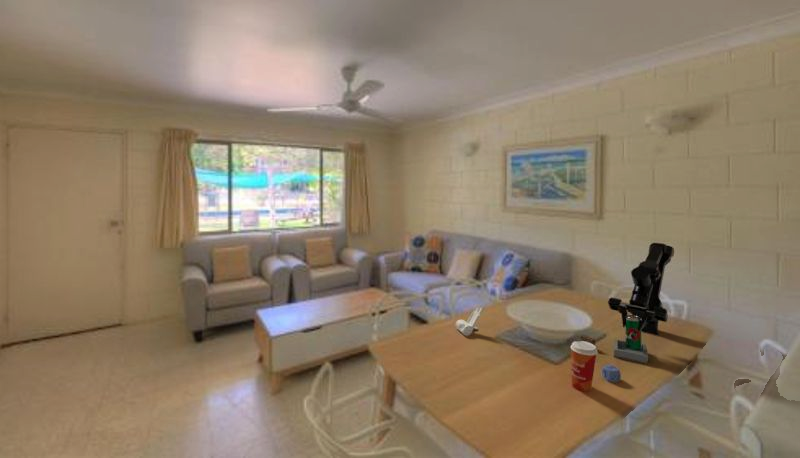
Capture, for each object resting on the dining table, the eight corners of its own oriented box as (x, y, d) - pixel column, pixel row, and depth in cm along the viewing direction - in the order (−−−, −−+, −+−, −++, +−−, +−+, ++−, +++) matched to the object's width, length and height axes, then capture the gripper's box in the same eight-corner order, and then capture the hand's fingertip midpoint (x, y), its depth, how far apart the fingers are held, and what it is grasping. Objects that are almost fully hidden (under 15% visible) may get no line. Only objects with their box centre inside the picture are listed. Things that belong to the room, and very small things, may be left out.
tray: (614, 345, 142) (614, 338, 142) (645, 352, 137) (646, 344, 137) (613, 356, 134) (614, 349, 133) (647, 364, 128) (648, 356, 128)
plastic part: (455, 329, 159) (455, 304, 158) (475, 326, 162) (475, 301, 160) (463, 336, 152) (463, 310, 150) (483, 333, 155) (484, 307, 153)
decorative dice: (601, 376, 121) (602, 365, 120) (612, 375, 121) (613, 364, 120) (608, 382, 117) (609, 371, 116) (620, 382, 117) (621, 370, 116)
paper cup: (563, 380, 118) (565, 340, 116) (585, 379, 119) (588, 339, 117) (576, 394, 110) (579, 351, 108) (600, 393, 111) (603, 350, 109)
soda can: (645, 350, 132) (644, 318, 131) (632, 351, 131) (631, 319, 131) (634, 345, 137) (634, 314, 136) (622, 346, 136) (621, 315, 136)
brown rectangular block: (583, 343, 144) (584, 334, 144) (594, 349, 140) (595, 339, 139) (580, 344, 143) (580, 335, 143) (591, 350, 139) (591, 340, 138)
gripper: (672, 309, 137) (663, 346, 131) (617, 298, 150) (607, 330, 144) (670, 294, 130) (661, 332, 124) (613, 284, 144) (602, 317, 138)
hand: (631, 328), depth 133 cm, fingers closed on soda can, 5 cm apart
